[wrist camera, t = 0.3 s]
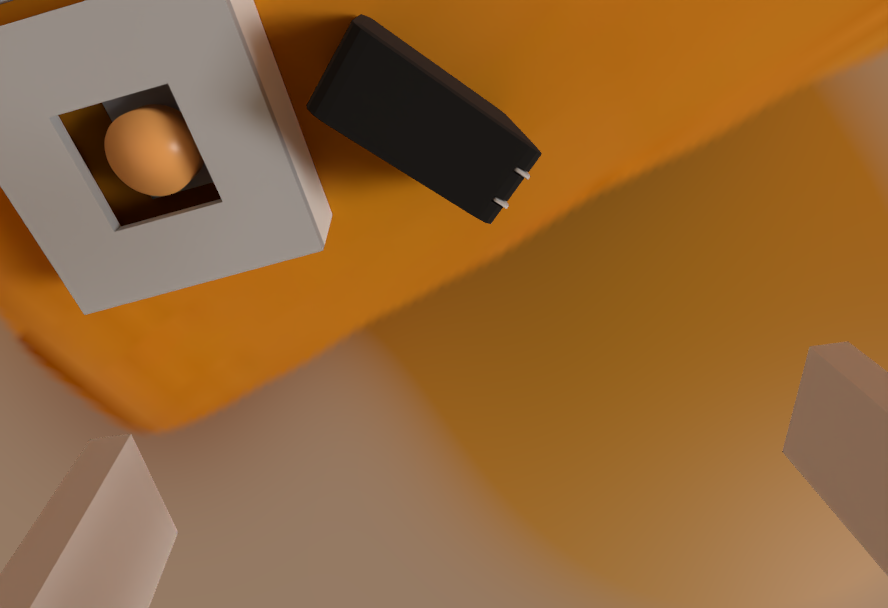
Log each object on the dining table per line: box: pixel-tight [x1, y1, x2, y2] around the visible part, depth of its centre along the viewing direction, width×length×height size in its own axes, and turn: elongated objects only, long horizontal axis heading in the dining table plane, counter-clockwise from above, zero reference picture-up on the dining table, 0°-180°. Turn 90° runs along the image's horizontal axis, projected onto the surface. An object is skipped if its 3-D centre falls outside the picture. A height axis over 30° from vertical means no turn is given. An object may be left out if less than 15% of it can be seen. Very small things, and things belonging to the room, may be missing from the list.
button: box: [104, 104, 204, 196], centre depth 31 cm, size 4×4×2 cm
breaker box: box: [0, 0, 332, 315], centre depth 31 cm, size 14×14×6 cm
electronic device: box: [307, 14, 541, 224], centre depth 29 cm, size 4×10×10 cm, turn 56°
